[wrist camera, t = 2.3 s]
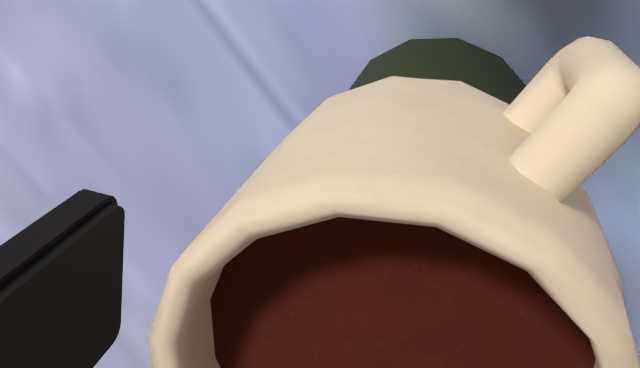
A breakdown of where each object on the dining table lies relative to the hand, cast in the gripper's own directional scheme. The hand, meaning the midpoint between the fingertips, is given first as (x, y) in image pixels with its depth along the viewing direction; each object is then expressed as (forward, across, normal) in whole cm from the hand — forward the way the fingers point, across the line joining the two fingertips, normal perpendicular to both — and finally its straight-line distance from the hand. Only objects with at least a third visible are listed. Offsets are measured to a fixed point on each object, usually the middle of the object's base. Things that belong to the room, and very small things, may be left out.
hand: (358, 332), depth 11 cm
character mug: (+11, -1, -1) cm, 11 cm away
